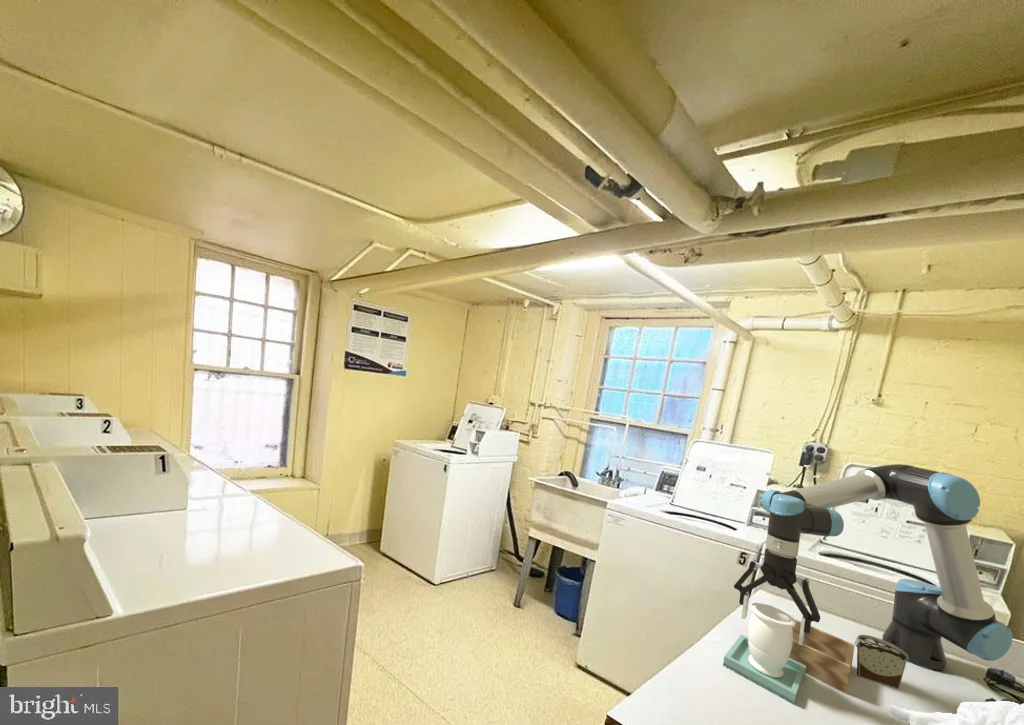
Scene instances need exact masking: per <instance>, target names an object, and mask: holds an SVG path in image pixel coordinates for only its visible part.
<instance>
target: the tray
mask: <svg viewBox="0 0 1024 725" xmlns="http://www.w3.org/2000/svg"><path fill="white" fill-rule="evenodd" d="M748 639H749V637H748V636H745V635H744V634H740V635H739V637H738V638H737V639H736V640H735V642H734V643H733V645H732V646H731V647H730V648H729V649H728V651H727V652H726V653H725V655H724V658H723V663H722V666H723V665H724V666H723V667H725V666H726V667H725V668H727V669H728V668H729V669H728V670H730V669H731V670H730V671H732V670H733V671H732V672H734V671H735V672H734V673H736V674H738V675H739V676H741V677H743V678H745V679H747V680H748V681H751V682H752V683H754V684H755V685H757V686H759V687H762V688H763V689H765V690H766V691H769V692H770V693H772V694H773V695H776V696H777V697H780V698H782V699H783V700H785V701H787V702H788V703H791V704H793V705H795V704H796V701H797V699H798V695H799V693H800V690H801V687H802V684H803V682H804V679H805V676H806V666H805V665H803V664H801V663H799V662H797V661H795V660H793V659H791V658H788V661H787V663H786V665H785V666H784V667H783V669H782V670H783V673H784V674H783V676H782V677H780V678H775V677H770V676H768V675H765V674H763V673H761V672H760V671H758V670H757V669H755V668H754V667H753V666H752V665H751V664H750V662H749V660H748V657H749V656H750V655H751V654H750V650H749V644H748Z"/></svg>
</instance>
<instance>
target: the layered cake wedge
mask: <svg viewBox="0 0 1024 725" xmlns="http://www.w3.org/2000/svg"><path fill="white" fill-rule="evenodd" d="M853 644H854V647H856V674H857V677H858V678H861V679H865V680H868V681H871V682H873V683H876V684H880V685H882V686H886V687H889V688H893V689H896V690H900V688H901V683H902V679H903V676H904V672H905V668H906V664H907V663H910V661H909V657H908V654H907V653H906V652H904V651H903V650H901V649H900V648H898V647H896V646H895V645H893V644H891V643H889V642H886V641H884V640H882V638H879V637H876V636H872V635H868V634H859V635H857V637H856V638H855V641H854V643H853Z"/></svg>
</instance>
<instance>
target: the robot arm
mask: <svg viewBox="0 0 1024 725" xmlns="http://www.w3.org/2000/svg"><path fill="white" fill-rule="evenodd" d="M760 499H761V502H760V503H761V507H762V508H763V510H764V511H765V512H768V515H769V517H768V525H767V534H766V539H765V540H766V541H765V550H764V556H763V563H762V564H761V563H760V562H757V560H755V559H752V560H751V561H750V562H749V566H748V569H747V570H746V571H745V572H744V573H743V574H742V575H741V577H739V579H738V580H736V583H734V585H733V588H734V589H736V590H738V591H739V593H740V594H739V601H738V603H739V605H741V606H742V611H741V618H740V619H743V620H745V619H746V618H747V617H748V610H749V602H750V593H749V592H751V591H752V590H754V589H755V588H757V587H759V586H761V585H763V584H764V583H766V582H767V583H768V584H769V585H770V586H772V587H777V588H778V589H780V590H781V591H782V590H785V591H786V592H787V593H788V594H789V595H790V597H791V599H792V600H793V602H794V604H795V606H796V607H797V609H798V610H799V611H800V613H801V615H802V618H801V620H800V621H801V627H800V635H799V643H798V644H799V645H801V646H802V644H803V641H804V633H809V632H810V627H811V626H812V622H815V623H819V622H820V620H821V615H820V613H819V610H818V608H817V605H816V603H815V602H816V601H815V599H814V596H813V595H812V592H811V590H810V580H809V579H808V578H805V577H804V578H801V577H797V575H796V572H797V563H798V559H797V556H798V554H799V548H800V538H801V534H806V535H812V536H821V537H826V538H827V537H838V536H840V535H841V534H842V533H843V531H844V528H845V527H844V526H845V522H844V519H843V517H842V515H841V514H840V513H839V512H838V511H837V510H836V509H834V508H836V507H841V506H844V505H849V504H854V503H856V502H860V501H861V502H862V501H864V500H872V501H881V500H893V501H898V502H901V503H903V504H907V505H910V506H913V509H914V512H915V513H914V514H915V516H916V518H917V520H919V521H921V522H922V523H924V526H925V529H926V530H925V531H926V533H927V538H928V543H929V547H930V550H931V554H932V559H933V564H934V567H935V570H936V571H935V572H936V575H937V580H938V584H939V586H937V585H935V584H930V583H927V582H924V581H921V580H915V579H909V578H908V579H907V578H901V579H898V580H897V584H896V588H895V589H894V591H895V593H894V600H893V608H892V609H893V611H892V618H891V621H890V623H889V624H888V626H887V627H886V629H885V630H884V632H883V633H882V637H881V639H882V640H884V641H886V642H889V643H891V644H893V645H895V646H896V647H898V648H900V649H901V650H903V651H904V652H906V653H907V654H908V657H909V663H910V662H911V663H913V664H915V665H916V666H917V665H918V666H920V667H923V668H926V667H927V669H929V668H931V669H930V670H933V669H936V670H935V671H944V670H943V669H945V668H946V669H947V658H946V657H947V656H946V654H945V651H944V648H943V642H942V638H943V639H944V640H947V641H948V642H950V643H952V644H954V645H955V646H957V647H959V648H961V649H963V650H964V651H966V652H967V653H969V654H971V655H974V656H976V657H977V658H980V659H982V660H984V661H989V662H990V661H991V662H992V661H997V660H999V659H1001V658H1003V657H1004V656H1005V655H1006V654H1007V653H1008V651H1009V650H1010V648H1011V646H1012V644H1013V633H1012V632H1013V631H1012V629H1011V628H1010V627H1009V626H1008V625H1006V624H1005V623H1004V622H1002V621H998V620H997V618H996V614H995V609H994V608H993V606H992V605H991V604H990V603H988V602H987V601H986V600H984V595H983V591H982V587H981V583H980V579H979V575H978V571H977V570H978V569H977V566H976V561H975V558H974V554H973V549H972V545H971V542H970V541H971V540H970V537H969V532H968V529H967V525H969V524H970V523H972V521H973V519H974V518H975V517H976V516H977V514H978V513H979V511H980V509H979V507H981V498H980V495H979V492H978V491H977V489H976V487H975V486H974V485H973V484H972V483H971V482H970V481H968V480H966V479H965V478H963V477H960V476H957V475H953V474H952V473H948V472H943V471H942V472H941V471H937V470H931V469H928V468H922V467H917V466H913V465H910V464H909V465H908V464H902V463H901V464H898V463H897V464H885V465H880V466H874V467H868V468H864V469H860V470H859V471H857V473H855V475H850V476H847V477H842V478H838V479H833V480H829V481H826V482H825V481H824V482H821V483H818V484H817V483H816V484H813V485H808V486H804V487H801V488H797V489H793V490H788V491H783V492H782V491H779V490H775V489H768V490H766V491H764V493H762V496H761V498H760ZM798 557H799V556H798ZM759 569H760V570H761V571H760V572H762V576H760V577H758V578H757V579H755V580H753V581H752V582H750V583H749V584H746V585H745V586H743V584H744V583H745V581H747V579H748V578H749V577H750V576H751V574H753V572H754V571H757V570H759ZM796 583H798V585H799V587H800V588H801V589H802V592H803V595H804V598H805V601H806V604H807V606H808V607H807V606H806V605H805V603H804V601H803V600H802V598H801V597H800V594H799V593H798V592H797V590H796V588H795V586H794V584H796ZM808 608H809V610H808ZM946 669H945V670H946Z"/></svg>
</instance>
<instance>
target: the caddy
mask: <svg viewBox="0 0 1024 725" xmlns="http://www.w3.org/2000/svg"><path fill="white" fill-rule="evenodd" d="M794 620H795V626H794V627H793V628H792V630H793V644H792V649H791V652H790V655H789V658H791V659H793V660H795V661H797V662H799V663H801V664H803V665H805V666H806V673H805V675H807V676H810V677H812V678H814V679H815V680H818V681H819V682H822V683H824V684H825V685H828V686H830V687H832V688H834V689H836V690H838V691H840V692H842V693H844V694H848V689H849V684H850V678H851V672H852V667H853V660H854V651H855V644H854V643H851V642H849V641H847V640H844V639H842V638H840V637H837V636H835V635H832V634H831V633H829V632H826V631H824V630H821V629H819V628H817V627H814V626H812V625H811V627H810V632H809V633H804V641H803V644H802V646H801V645H799V644H798V643H799V635H800V627H801V620H799V619H795V618H794Z"/></svg>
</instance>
